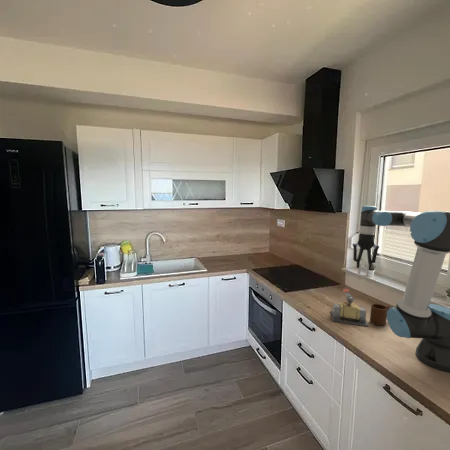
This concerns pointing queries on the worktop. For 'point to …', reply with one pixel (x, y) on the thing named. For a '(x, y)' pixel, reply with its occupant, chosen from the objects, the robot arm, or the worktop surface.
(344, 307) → the valve
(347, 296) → the lever
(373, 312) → the mug
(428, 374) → the worktop surface
